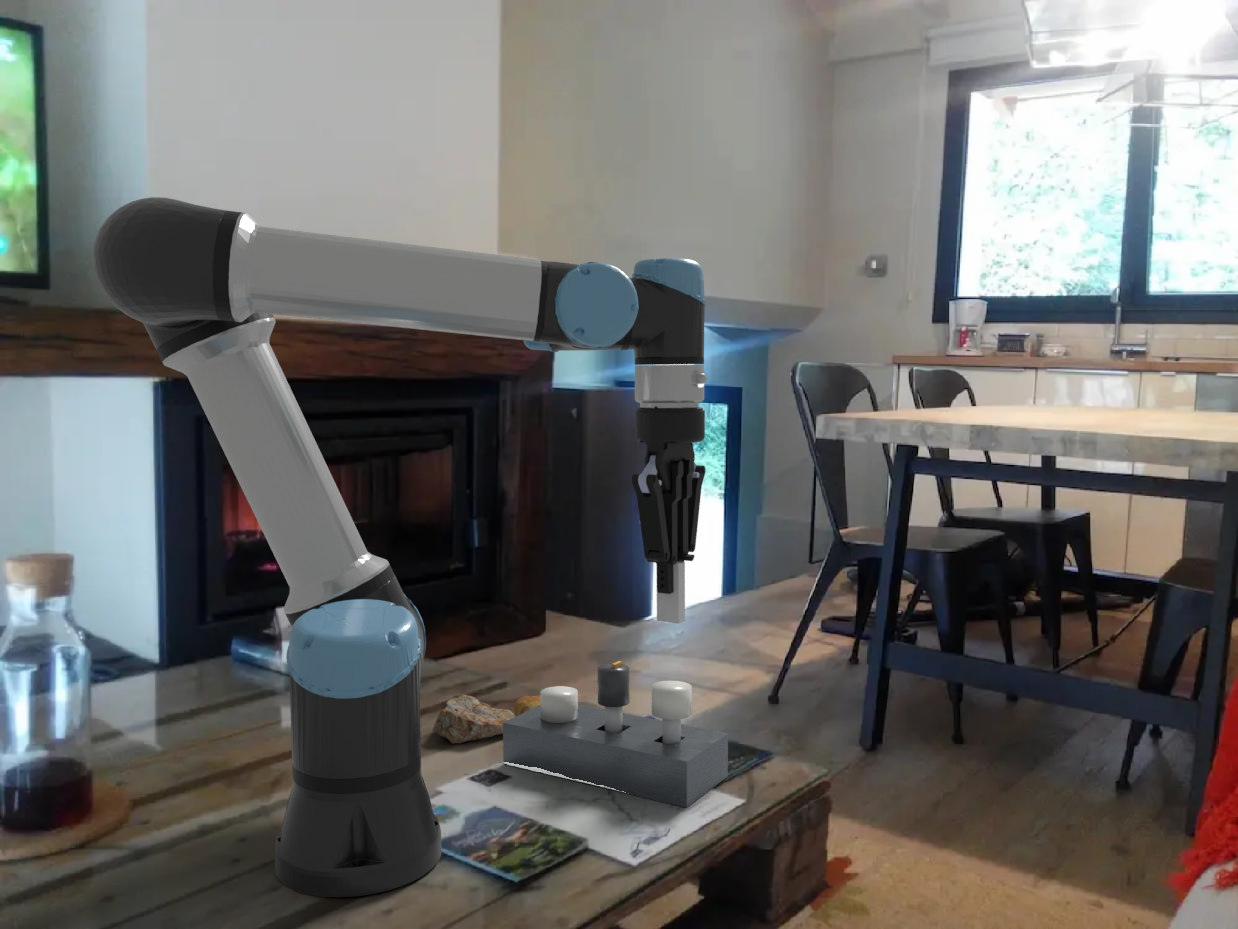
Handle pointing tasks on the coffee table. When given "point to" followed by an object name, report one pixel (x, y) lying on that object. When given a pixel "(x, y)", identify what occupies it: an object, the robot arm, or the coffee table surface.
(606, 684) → the pot knob
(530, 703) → the pastry
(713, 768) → the panel
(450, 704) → the rock
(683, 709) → the plunger near
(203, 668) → the coffee table surface
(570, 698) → the plunger far
